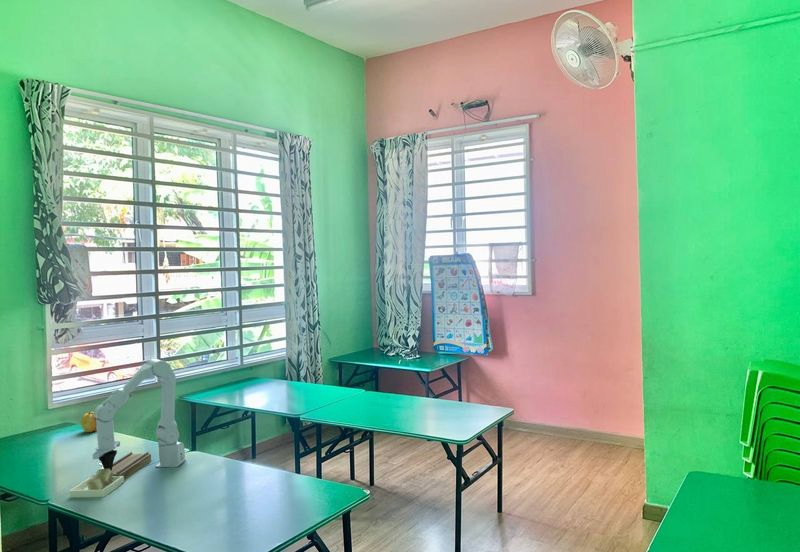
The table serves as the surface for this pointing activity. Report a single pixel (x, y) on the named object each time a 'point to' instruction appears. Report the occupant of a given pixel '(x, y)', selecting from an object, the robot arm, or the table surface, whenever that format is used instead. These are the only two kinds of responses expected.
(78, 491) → the tray
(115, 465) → the slot block
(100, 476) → the chip front
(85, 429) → the apple
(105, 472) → the beige cube
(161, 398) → the robot arm
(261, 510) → the table surface
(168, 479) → the table surface
